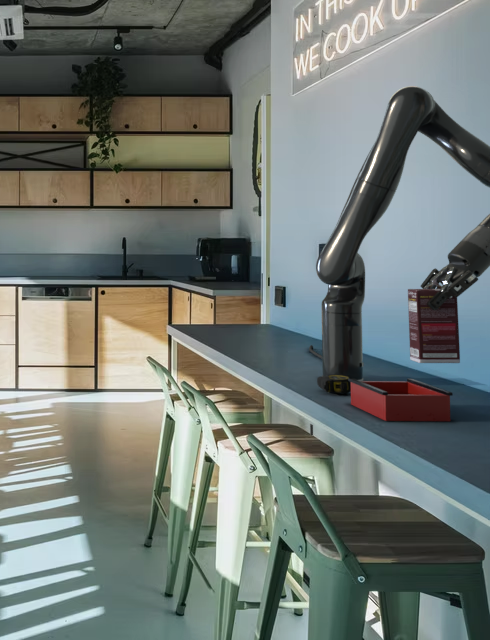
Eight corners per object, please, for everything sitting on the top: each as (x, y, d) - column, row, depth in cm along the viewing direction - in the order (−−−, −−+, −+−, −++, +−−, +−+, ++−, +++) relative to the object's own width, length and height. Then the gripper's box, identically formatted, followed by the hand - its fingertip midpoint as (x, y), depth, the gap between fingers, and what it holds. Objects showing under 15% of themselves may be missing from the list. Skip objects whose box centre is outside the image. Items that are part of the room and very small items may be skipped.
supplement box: (449, 360, 161) (447, 288, 162) (460, 363, 157) (458, 289, 157) (408, 359, 162) (406, 288, 163) (418, 363, 157) (416, 289, 158)
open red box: (348, 404, 157) (348, 378, 157) (412, 404, 157) (411, 378, 157) (383, 421, 142) (382, 392, 142) (453, 421, 142) (452, 392, 142)
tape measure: (316, 389, 172) (316, 373, 173) (347, 390, 171) (346, 374, 171) (323, 395, 166) (323, 379, 166) (356, 396, 165) (355, 380, 165)
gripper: (445, 239, 168) (394, 292, 167) (485, 239, 153) (429, 296, 153) (469, 262, 167) (417, 315, 167) (511, 264, 153) (455, 322, 153)
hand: (423, 306), depth 160 cm, fingers closed on supplement box, 5 cm apart
